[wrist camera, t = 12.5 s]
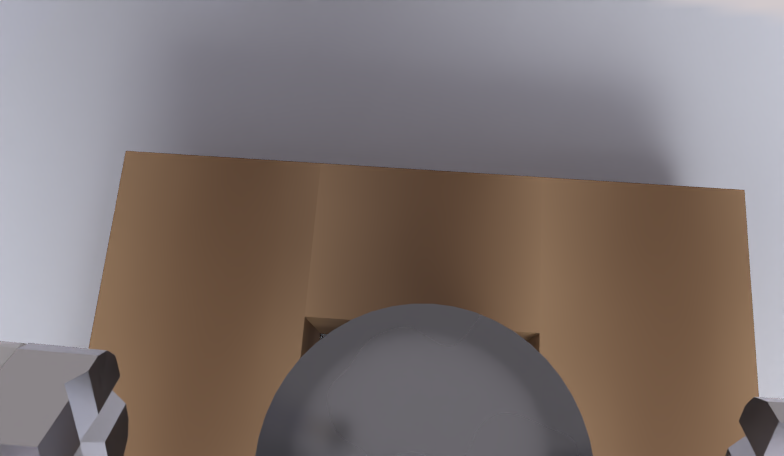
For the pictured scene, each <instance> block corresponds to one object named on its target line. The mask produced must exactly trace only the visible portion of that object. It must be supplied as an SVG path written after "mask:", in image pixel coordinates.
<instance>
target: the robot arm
mask: <svg viewBox="0 0 784 456" xmlns="http://www.w3.org/2000/svg"><path fill="white" fill-rule="evenodd" d="M119 378H120V372H119V368H118V364H117V360H116V356H115V355H114V354H112V353H111V352H109V351H107V350H98V349H87V348H77V347H66V346H56V345H45V344H35V343H28V344H25V343H16V342H5V341H0V456H124V452H125V448H126V444H127V440H128V422H129V418H128V413H127V407H126V403H125V402H124V401H123V400H122V399H121V398H120V397H119V396H118V395H117V394H116V393H115V392H114V391H113V388H114V386H115V385H116V383H117V381H118V380H119ZM739 423H740V425H741V427H742V429H743V431H744V433H745V435H746V436H745V437H743V438H742V439H740V440H739V441H737V442H736V443H735V444H733V445H732V446H730V447H729V448H728V449H727V452H726V455H725V456H784V399H780V398H765V397H753V398H752V399H751V400H750V401H749V402H748V403H747V404H746V405H745V407H744V409H743V412H742V414H741V417H740V419H739Z"/></svg>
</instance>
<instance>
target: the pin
mask: <svg viewBox="0 0 784 456" xmlns="http://www.w3.org/2000/svg"><path fill="white" fill-rule="evenodd" d="M255 456H593V454H592V449H591V443H590V439H589V436H588V432H587V429H586V426H585V423H584V420H583V417H582V415H581V413H580V411H579V409H578V406H577V404H576V402H575V400H574V398H573V396H572V394H571V393H570V391H569V389H568V388H567V386H566V385H565V383H564V381H563V380H562V378H561V377H560V375H559V374H558V373H557V372H556V370H555V369H554V368H553V367H552V365H551V364H550V363H549V362H548V361H547V359H546V358H545V357H544V356H543V355H542V354H540V353H539V352H538V351H537V350H536V349H535V348H534V347H533V346H532V345H531V344H530V343H529V342H527V341H526V340H525V339H523V338H522V337H521V336H519V335H518V334H517V333H515V332H514V331H512V330H511V329H509V328H507V327H505V326H504V325H502V324H500V323H498V322H497V321H495V320H493V319H490V318H488V317H485V316H483V315H480V314H478V313H476V312H472V311H469V310H465V309H461V308H457V307H453V306H446V305H438V304H406V305H398V306H391V307H387V308H383V309H380V310H376V311H372V312H369V313H367V314H364V315H362V316H359V317H357V318H354V319H352V320H350V321H348V322H347V323H345V324H343V325H341V326H340V327H338V328H336V329H334V330H333V331H331V332H330V333H329V334H327V335H326V336H325V337H323V338H322V339H321V340H319V341H318V342H317V343H315V344H314V345H313V346H312V347H311V348H310V349H309V350H308V351H307V352H306V353H305V354H304V355H303V356H302V357H301V358H300V359H299V360H298V362H297V363H296V364H295V365H294V367H293V368H292V369H291V370H290V372H289V373H288V374H287V375H286V377H285V379H284V380H283V382H282V384H281V385H280V387H279V389H278V390H277V392H276V393H275V395H274V397H273V400H272V402H271V404H270V406H269V408H268V411H267V413H266V415H265V418H264V421H263V425H262V428H261V431H260V434H259V438H258V443H257V449H256V454H255Z"/></svg>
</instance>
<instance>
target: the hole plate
mask: <svg viewBox="0 0 784 456" xmlns="http://www.w3.org/2000/svg"><path fill="white" fill-rule="evenodd" d="M406 304H438V305H446V306H453V307H457V308H461V309H465V310H469V311H472V312H476V313H478V314H480V315H483V316H485V317H488V318H490V319H493V320H495V321H497V322H498V323H500V324H502V325H504V326H505V327H507V328H509V329H511V330H512V331H514V332H515V333H517V334H518V335H519V336H521V337H522V338H523V339H525V340H526V341H527V342H529V343H530V344H531V345H532V346H533V347H534V348H535V349H536V350H537V351H538V352H539V353H540V354H542V355H543V356H544V357H545V358H546V359H547V361H548V362H549V363H550V364H551V365H552V367H553V368H554V369H555V370H556V372H557V373H558V374H559V375H560V377H561V378H562V380H563V381H564V383H565V385H566V386H567V388H568V389H569V391H570V393H571V394H572V396H573V398H574V400H575V402H576V404H577V406H578V409H579V411H580V413H581V415H582V417H583V420H584V423H585V426H586V429H587V432H588V436H589V439H590V443H591V449H592V454H593V456H725V455H726V452H727V449H728V448H729V447H730V446H732V445H733V444H735V443H736V442H737V441H739V440H740V439H742V438H743V437H745V436H746V435H745V433H744V431H743V429H742V427H741V425H740V423H739V419H740V417H741V414H742V412H743V409H744V407H745V405H746V404H747V403H748V402H749V401H750V400H751V399H752V398H753V397H759V393H758V379H757V365H756V350H755V336H754V321H753V307H752V293H751V278H750V264H749V249H748V235H747V221H746V206H745V192H744V190H736V189H720V188H704V187H689V186H673V185H657V184H641V183H625V182H609V181H594V180H578V179H562V178H546V177H530V176H514V175H499V174H483V173H467V172H451V171H435V170H419V169H404V168H388V167H372V166H356V165H340V164H324V163H309V162H293V161H277V160H261V159H245V158H230V157H214V156H198V155H182V154H166V153H150V152H135V151H126V153H125V158H124V163H123V169H122V174H121V179H120V185H119V190H118V195H117V200H116V206H115V211H114V216H113V222H112V227H111V232H110V238H109V243H108V248H107V254H106V259H105V264H104V270H103V275H102V280H101V286H100V291H99V296H98V302H97V307H96V312H95V317H94V323H93V328H92V333H91V339H90V344H89V349H98V350H107V351H109V352H111V353H112V354H114V355H115V356H116V360H117V364H118V368H119V372H120V378H119V380H118V381H117V383H116V385H115V386H114V388H113V391H114V392H115V393H116V394H117V395H118V396H119V397H120V398H121V399H122V400H123V401H124V402H125V403H126V407H127V413H128V418H129V422H128V440H127V444H126V448H125V452H124V456H255V454H256V449H257V443H258V438H259V434H260V431H261V428H262V425H263V421H264V418H265V415H266V413H267V411H268V408H269V406H270V404H271V402H272V400H273V397H274V395H275V393H276V392H277V390H278V389H279V387H280V385H281V384H282V382H283V380H284V379H285V377H286V375H287V374H288V373H289V372H290V370H291V369H292V368H293V367H294V365H295V364H296V363H297V362H298V360H299V359H300V358H301V357H302V356H303V355H304V354H305V353H306V352H307V351H308V350H309V349H310V348H311V347H312V346H313V345H314V344H315V343H317V342H318V341H319V340H320V334H329V333H330V332H331V331H333V330H334V329H336V328H338V327H340V326H341V325H343V324H345V323H347V322H348V321H350V320H352V319H354V318H357V317H359V316H362V315H364V314H367V313H369V312H372V311H376V310H380V309H383V308H387V307H391V306H398V305H406Z"/></svg>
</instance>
